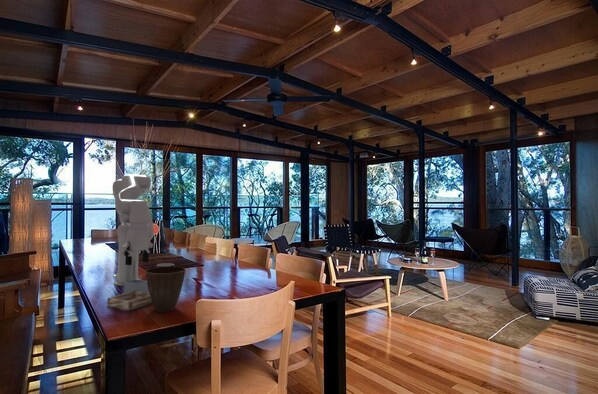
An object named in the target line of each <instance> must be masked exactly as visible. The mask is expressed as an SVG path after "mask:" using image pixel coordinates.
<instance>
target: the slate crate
mask: <svg viewBox="0 0 598 394" xmlns="http://www.w3.org/2000/svg"><path fill="white" fill-rule="evenodd" d="M123 287H124V289H123V294H124V293H128V292H132V291H140V292H146V293H149V290H148V285H147V280H143V279H140V280H137V279H134V280H130V281H126V282H124V286H123ZM131 296H133V295H131ZM136 296H140V295H136Z"/></svg>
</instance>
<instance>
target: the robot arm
mask: <svg viewBox="0 0 598 394" xmlns="http://www.w3.org/2000/svg"><path fill="white" fill-rule="evenodd" d="M151 185H152V181H151V179H150V176H148V175H144V174H133V173H129V174H124V175H123V176H122V178H121V179H116V180H115V181H114V182H113V183H112V194H113V195H112V196H113V197H114V199H115V200H114V201H115V203H114V204H115V210H116V213H117V214H118V219H119V222H120V224H119V225H118V227H117V231H116V232H117V233H116V234H117V240H118V241H117V242H118V257H117V258H118V259H117V273H116V274H114V275H113V278H114V279H115V280H114V281H113V284H114V286H119V287H120V286H123V287H124V282H126V281H130V280H134V279H137V280H141V278H138V277H139V252H143V253H142V263H149V259H150V255H149V254H151V251H152V250H153V247H154V243H152V242H150V241H151V240H152V239H153V238H154V236H155V228H154V222H153V217H152V212H151V210H150V204H149V202H148V201H147V200H143V199H139V198H140V197H141V196H143V195H146V194H147V193H148V192H149V191H150V190H151V187H152V186H151Z"/></svg>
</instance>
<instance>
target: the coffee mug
mask: <svg viewBox="0 0 598 394" xmlns="http://www.w3.org/2000/svg"><path fill="white" fill-rule="evenodd" d="M157 267H175V264H174V263H170V262H166V263H158V264H156V266H152V267H150V268H149V269H151V268H157Z"/></svg>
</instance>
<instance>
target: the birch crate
mask: <svg viewBox="0 0 598 394" xmlns="http://www.w3.org/2000/svg"><path fill="white" fill-rule="evenodd" d="M131 295H133V296H131ZM136 295H140V296H136ZM151 304H152V301H151V297H150V294H149V292H148V293H146V292H140V291H132V292H128V293H124V292H123V293H121V294H117V295H115V296H110V297H107V302H106V306H107V307H106V308H112V309H117V310H122V311H127V312H131V311H134V310H137V309H139V308H144V307H147V306H149V305H151ZM152 305H153V304H152Z"/></svg>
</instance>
